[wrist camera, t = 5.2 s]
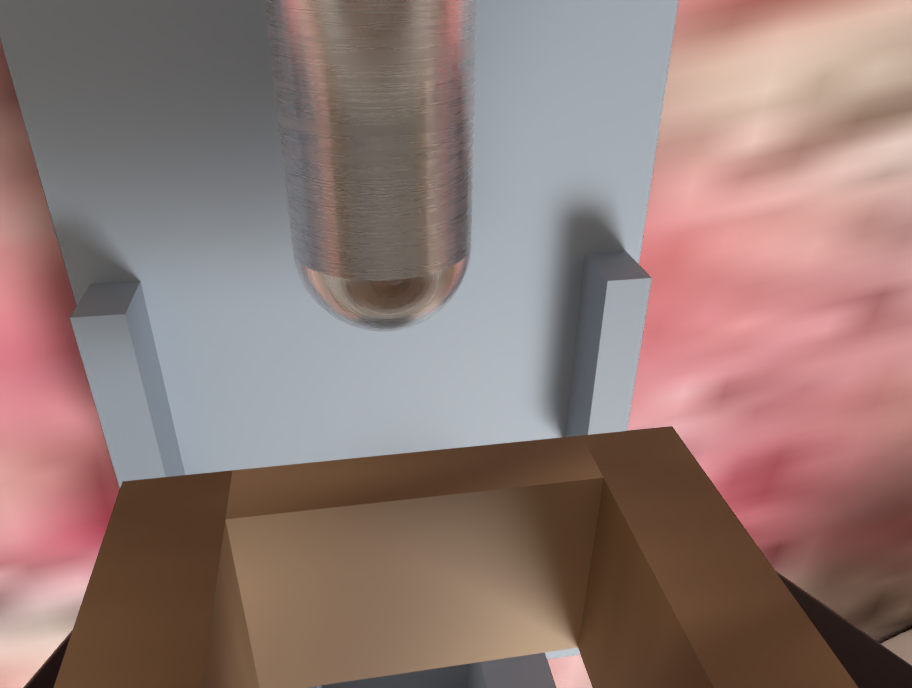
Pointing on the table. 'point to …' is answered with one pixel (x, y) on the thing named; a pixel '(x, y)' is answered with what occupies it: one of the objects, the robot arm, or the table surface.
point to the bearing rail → (272, 262)
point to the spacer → (442, 573)
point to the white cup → (901, 645)
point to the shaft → (377, 151)
